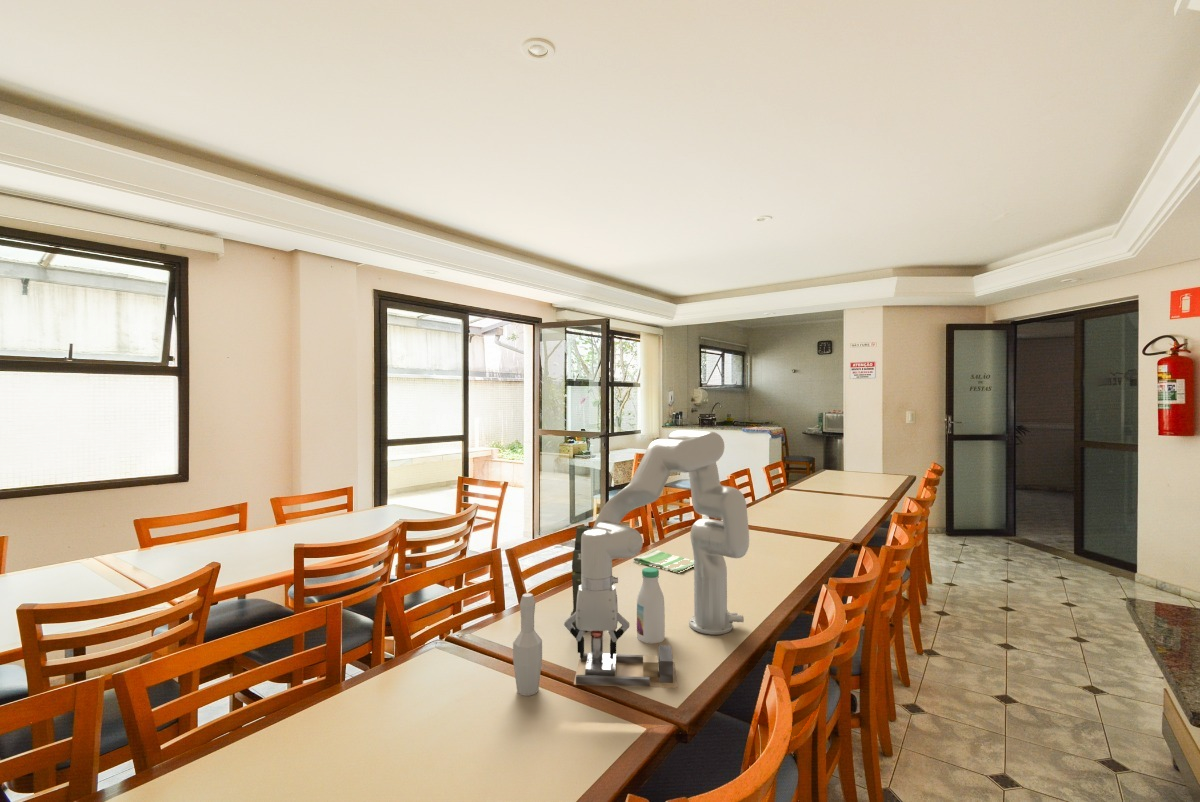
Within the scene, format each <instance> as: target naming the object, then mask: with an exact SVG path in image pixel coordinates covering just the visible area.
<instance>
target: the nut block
mask: <svg viewBox="0 0 1200 802" xmlns="http://www.w3.org/2000/svg"><path fill="white" fill-rule="evenodd" d="M642 655H643V677H658V662H659V655H650V654H649V655H647V654H646V655H645V654H642Z"/></svg>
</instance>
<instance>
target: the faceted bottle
mask: <svg viewBox="0 0 1200 802" xmlns="http://www.w3.org/2000/svg"><path fill="white" fill-rule="evenodd" d="M535 610H536V600H535V598H534V594H533V593H531V592H528V593H527V592H526V593H523V594H522V596H521V598H520V602H519V613H520V632H519V633H518V635H517V637H516V638H515V639H514V640H513V642H512V662H513V670H514V676H515V677H514V678H515V685H516V691H517V693H518V694H519V695H521V696H525V697H530V696H533V695H535V694H536V693H537V692H538V691H539V689H540V687H539V686H540V682H541V681H540V680H541V679H540V678H541V671H542V664H543V663H542V661H543V639H542V638H541V637H540V635H539V634H538V632H537V631H536V630H535V612H536V611H535Z"/></svg>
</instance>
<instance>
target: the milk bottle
mask: <svg viewBox="0 0 1200 802" xmlns="http://www.w3.org/2000/svg"><path fill="white" fill-rule="evenodd" d="M659 570H660V569H658V568H654V567H651V566H647V567H644V568H643V569H642V571H641V575H642V576H641V577H642V583H641V586H640V588H639V591H638V593H637V599H636V638H637V640H639V641H640V642H642V643H645V644H657V643H658V644H659V643H662V642H663V641H664V640H665V637H666V636H665V635H666V633H665V632H666V631H665V630H666V629H665V628H666V625H665V624H666V623H665V617H666V615H665V614H666V613H665V597H664V593H663V591H662V589H661V587H660V583H659V577H660V576H659V575H660V573H659V572H660V571H659Z"/></svg>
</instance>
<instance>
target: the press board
mask: <svg viewBox="0 0 1200 802" xmlns="http://www.w3.org/2000/svg"><path fill="white" fill-rule="evenodd" d="M643 655H644V654H621V653H619V654H617V653H616V673H615V676H599V675H585V667H586V662H587V657H588V653H585V652H584V656H583V657H582V658H579V659H578V664H577V668H576V671H575V676H574V681H573V685H575V686H577V685H578V686H606V687H607V686H608V687H609V686H610V687H635V688H636V687H638V688H664V689H665V688H668V689H669V688H670V689H673V688H674V689H679V684H678V679H677V677H678V676H677V672H676V665H675V662H674V660H673V652H672V646H671V645H666V644H665V645H663V644H662V645H658V677H643Z"/></svg>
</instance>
